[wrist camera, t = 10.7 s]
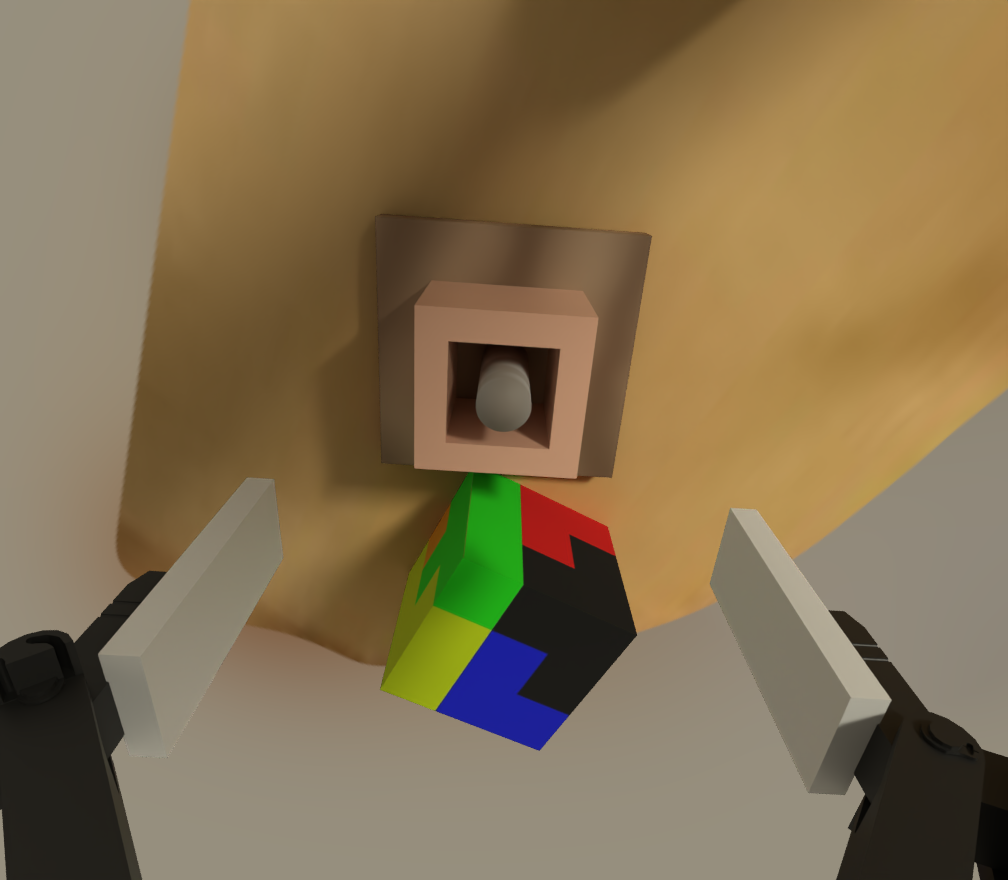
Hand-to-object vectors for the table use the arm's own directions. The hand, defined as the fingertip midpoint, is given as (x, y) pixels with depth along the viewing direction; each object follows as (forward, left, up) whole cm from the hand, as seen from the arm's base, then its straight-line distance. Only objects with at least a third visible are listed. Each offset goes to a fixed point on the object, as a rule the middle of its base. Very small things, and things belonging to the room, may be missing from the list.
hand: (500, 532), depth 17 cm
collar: (0, 0, -17) cm, 17 cm away
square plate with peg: (0, 0, -18) cm, 19 cm away
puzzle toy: (-1, +14, -19) cm, 24 cm away
